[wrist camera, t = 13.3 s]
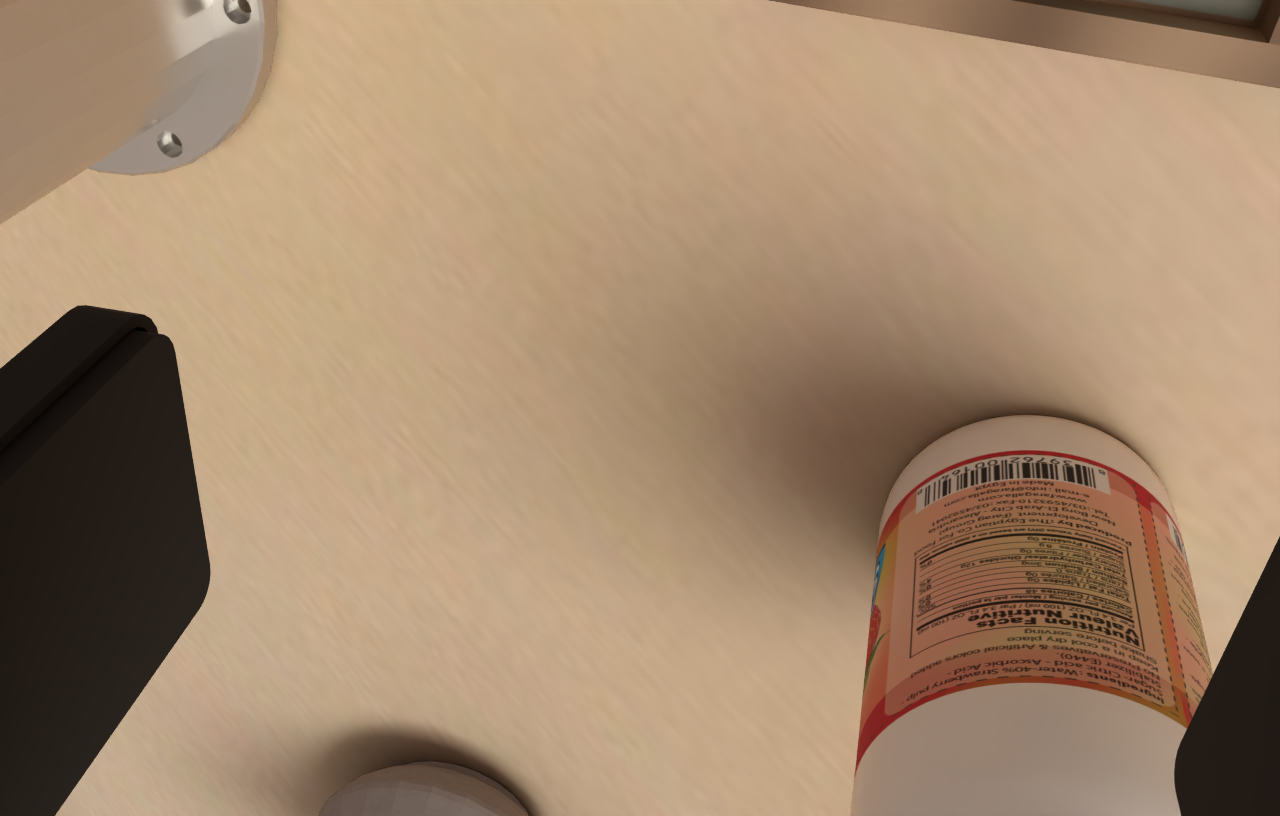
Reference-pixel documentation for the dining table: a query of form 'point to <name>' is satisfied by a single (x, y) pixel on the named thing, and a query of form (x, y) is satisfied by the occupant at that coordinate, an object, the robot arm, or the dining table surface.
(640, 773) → the dining table surface
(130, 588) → the robot arm
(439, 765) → the coffee pot
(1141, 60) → the tray
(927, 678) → the fruit juice
